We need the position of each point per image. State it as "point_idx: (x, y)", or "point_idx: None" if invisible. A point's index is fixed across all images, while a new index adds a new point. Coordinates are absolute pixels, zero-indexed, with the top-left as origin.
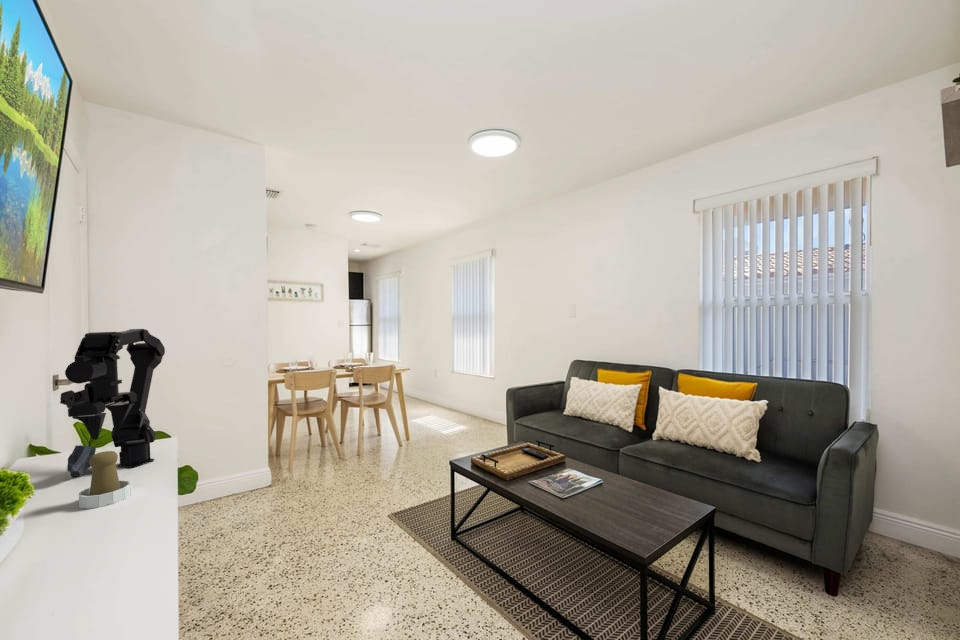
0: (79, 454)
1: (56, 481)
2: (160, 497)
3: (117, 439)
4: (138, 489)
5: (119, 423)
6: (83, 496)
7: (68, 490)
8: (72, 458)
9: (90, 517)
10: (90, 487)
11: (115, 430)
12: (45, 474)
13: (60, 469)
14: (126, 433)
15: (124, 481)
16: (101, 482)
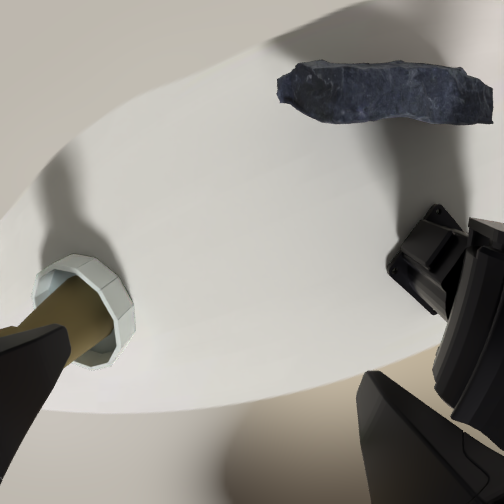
0: (311, 109)
1: (340, 46)
2: (90, 402)
3: (464, 261)
4: (138, 361)
5: (368, 446)
6: (33, 288)
7: (203, 140)
8: (298, 83)
9: (23, 310)
10: (47, 297)
11: (502, 275)
12: (426, 2)
13: (461, 29)
14: (461, 332)
15: (113, 352)
16: None
